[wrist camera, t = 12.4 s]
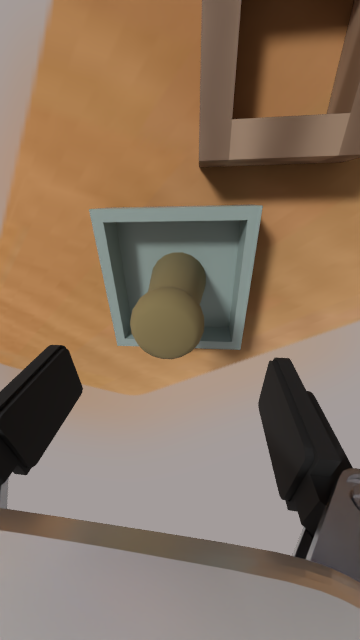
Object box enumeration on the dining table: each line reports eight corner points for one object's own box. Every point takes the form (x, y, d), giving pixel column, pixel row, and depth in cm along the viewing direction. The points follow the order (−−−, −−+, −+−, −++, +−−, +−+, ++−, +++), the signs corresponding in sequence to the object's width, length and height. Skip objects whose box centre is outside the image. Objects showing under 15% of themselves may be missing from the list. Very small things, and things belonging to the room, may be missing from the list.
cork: (190, 313, 25) (185, 383, 15) (143, 291, 24) (106, 351, 14) (216, 268, 22) (231, 320, 12) (164, 241, 21) (135, 275, 11)
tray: (251, 204, 20) (262, 205, 16) (235, 330, 27) (240, 349, 23) (107, 207, 21) (89, 209, 17) (127, 327, 28) (117, 345, 24)
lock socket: (421, -108, 12) (500, -217, 9) (342, 162, 18) (371, 154, 14) (203, -79, 13) (205, -168, 9) (199, 167, 18) (198, 160, 15)
